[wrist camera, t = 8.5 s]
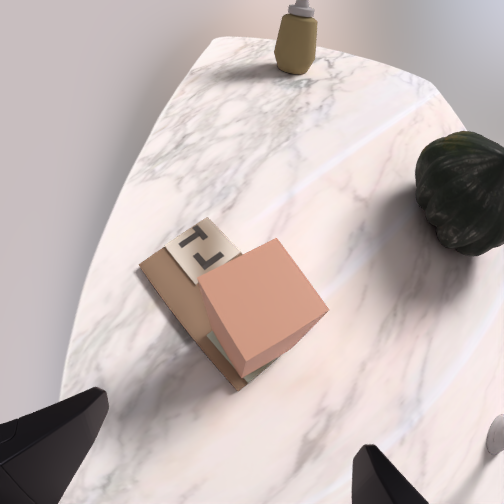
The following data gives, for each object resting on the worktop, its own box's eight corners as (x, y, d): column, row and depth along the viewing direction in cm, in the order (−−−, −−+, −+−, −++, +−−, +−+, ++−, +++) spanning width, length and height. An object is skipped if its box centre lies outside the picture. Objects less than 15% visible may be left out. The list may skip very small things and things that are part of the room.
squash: (459, 142, 32) (468, 84, 19) (519, 220, 26) (561, 191, 13) (396, 196, 37) (385, 154, 25) (455, 280, 31) (479, 280, 19)
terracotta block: (241, 378, 20) (246, 361, 11) (212, 329, 22) (196, 277, 13) (290, 349, 22) (329, 309, 13) (260, 303, 23) (276, 237, 15)
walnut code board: (238, 391, 20) (238, 391, 20) (140, 267, 25) (137, 263, 24) (310, 328, 23) (312, 325, 23) (208, 221, 28) (207, 216, 27)
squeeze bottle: (279, 59, 50) (288, -14, 35) (315, 68, 49) (330, -6, 34) (266, 71, 47) (275, -12, 31) (307, 80, 45) (322, -4, 30)
